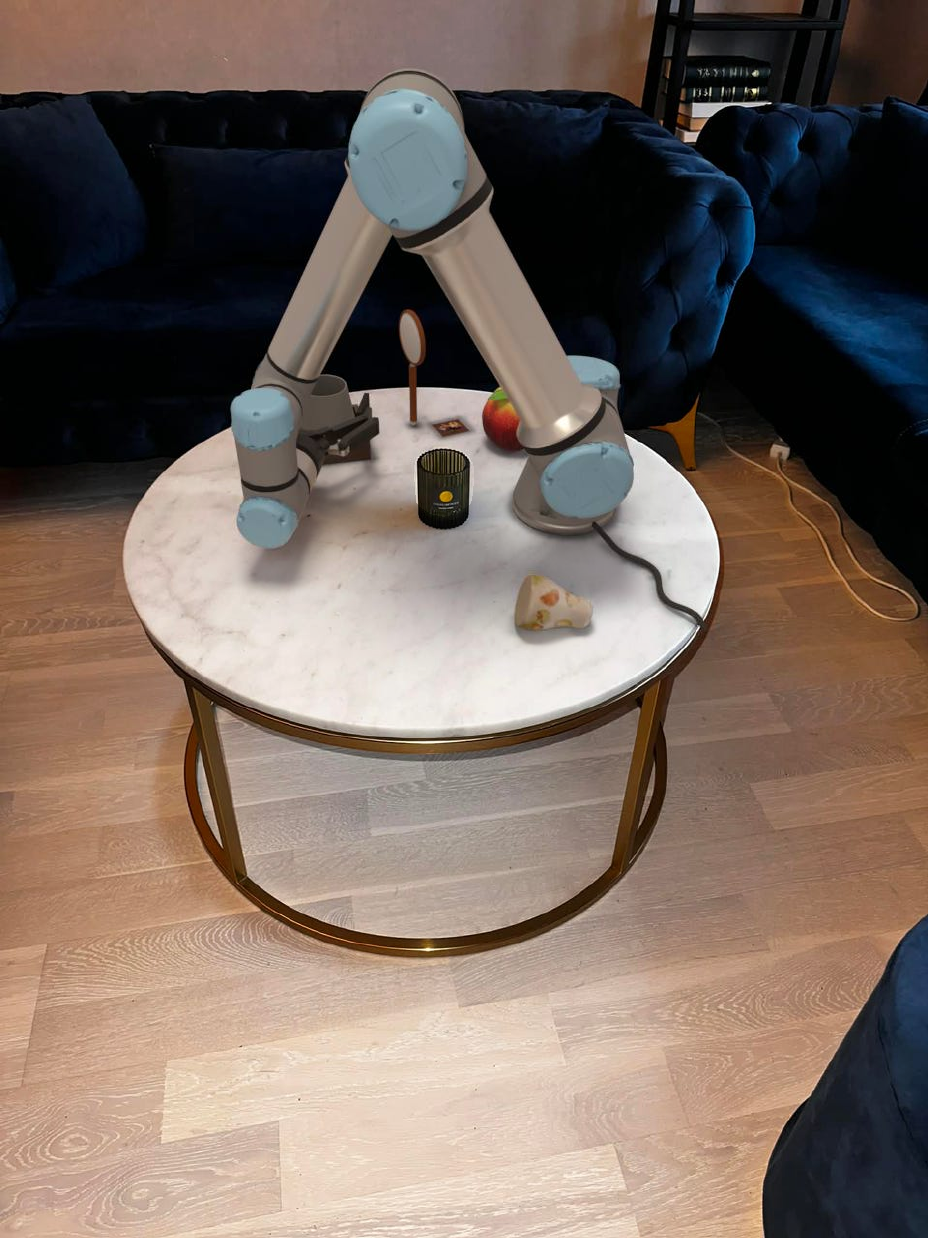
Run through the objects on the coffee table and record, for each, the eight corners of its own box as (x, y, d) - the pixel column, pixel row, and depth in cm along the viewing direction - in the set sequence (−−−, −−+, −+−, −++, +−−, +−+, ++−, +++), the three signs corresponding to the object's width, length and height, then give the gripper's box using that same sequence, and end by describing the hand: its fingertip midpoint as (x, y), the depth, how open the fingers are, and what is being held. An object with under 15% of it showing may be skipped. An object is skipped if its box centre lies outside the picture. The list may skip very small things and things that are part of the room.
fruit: (558, 449, 155) (563, 393, 148) (501, 465, 151) (504, 409, 144) (523, 420, 162) (527, 366, 155) (468, 435, 158) (470, 380, 151)
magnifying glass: (398, 415, 163) (395, 302, 150) (407, 413, 163) (405, 300, 150) (419, 438, 157) (418, 322, 144) (429, 436, 157) (428, 320, 144)
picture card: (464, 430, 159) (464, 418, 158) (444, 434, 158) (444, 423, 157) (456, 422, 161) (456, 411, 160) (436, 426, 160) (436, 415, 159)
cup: (347, 423, 159) (343, 368, 153) (363, 449, 153) (360, 393, 146) (292, 432, 156) (286, 377, 150) (307, 460, 150) (301, 403, 143)
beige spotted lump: (599, 643, 119) (570, 599, 112) (529, 657, 123) (497, 616, 116) (599, 595, 124) (571, 550, 116) (531, 611, 128) (500, 568, 120)
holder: (371, 458, 152) (370, 439, 149) (295, 467, 149) (293, 448, 147) (358, 422, 161) (357, 403, 158) (286, 429, 158) (284, 411, 156)
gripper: (210, 483, 136) (251, 413, 152) (379, 497, 135) (403, 424, 151) (201, 438, 131) (244, 370, 148) (377, 451, 130) (402, 381, 146)
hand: (324, 397), depth 149 cm, fingers open, 13 cm apart
